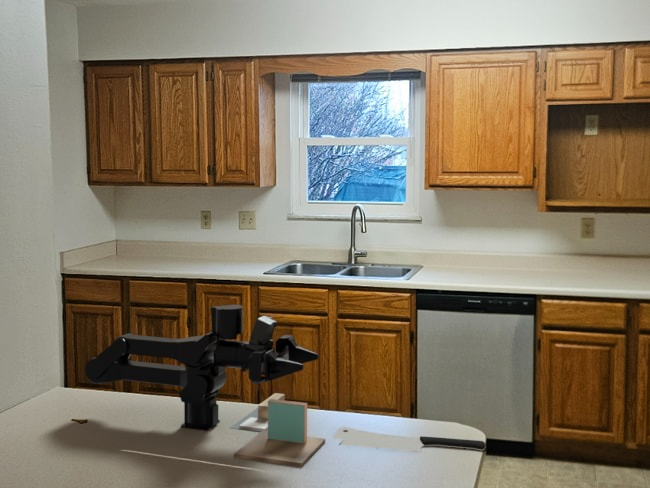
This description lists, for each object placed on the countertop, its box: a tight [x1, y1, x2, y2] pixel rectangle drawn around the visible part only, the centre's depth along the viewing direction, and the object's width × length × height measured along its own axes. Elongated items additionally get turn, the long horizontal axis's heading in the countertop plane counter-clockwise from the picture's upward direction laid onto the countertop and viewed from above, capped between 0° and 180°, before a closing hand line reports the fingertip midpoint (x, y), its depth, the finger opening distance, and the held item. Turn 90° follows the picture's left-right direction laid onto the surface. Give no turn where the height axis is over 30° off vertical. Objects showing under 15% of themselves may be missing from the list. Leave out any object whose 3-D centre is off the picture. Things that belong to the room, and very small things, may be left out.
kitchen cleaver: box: [332, 426, 486, 452], centre depth 160 cm, size 31×2×10 cm
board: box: [233, 431, 326, 468], centre depth 156 cm, size 14×14×1 cm
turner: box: [239, 392, 286, 431], centre depth 174 cm, size 6×16×4 cm, turn 162°
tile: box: [268, 399, 308, 444], centre depth 159 cm, size 8×2×8 cm, turn 72°
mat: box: [229, 407, 268, 433], centre depth 175 cm, size 10×17×1 cm, turn 162°
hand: (311, 361), depth 161 cm, fingers open, 9 cm apart
